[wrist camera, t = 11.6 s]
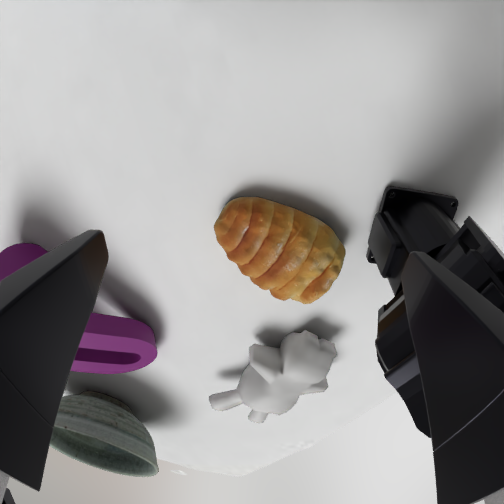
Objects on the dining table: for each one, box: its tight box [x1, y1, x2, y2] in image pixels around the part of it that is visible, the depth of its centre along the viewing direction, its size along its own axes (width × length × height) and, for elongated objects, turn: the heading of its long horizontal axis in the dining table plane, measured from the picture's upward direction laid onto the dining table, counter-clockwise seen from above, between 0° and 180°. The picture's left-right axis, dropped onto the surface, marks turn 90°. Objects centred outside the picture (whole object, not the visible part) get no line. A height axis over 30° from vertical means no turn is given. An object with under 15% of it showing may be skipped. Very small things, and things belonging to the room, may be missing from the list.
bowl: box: [49, 391, 159, 477], centre depth 40 cm, size 21×21×10 cm
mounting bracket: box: [0, 243, 157, 374], centre depth 28 cm, size 9×8×18 cm
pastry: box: [214, 197, 345, 304], centre depth 23 cm, size 9×7×4 cm
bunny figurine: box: [209, 330, 337, 423], centre depth 32 cm, size 10×5×15 cm
